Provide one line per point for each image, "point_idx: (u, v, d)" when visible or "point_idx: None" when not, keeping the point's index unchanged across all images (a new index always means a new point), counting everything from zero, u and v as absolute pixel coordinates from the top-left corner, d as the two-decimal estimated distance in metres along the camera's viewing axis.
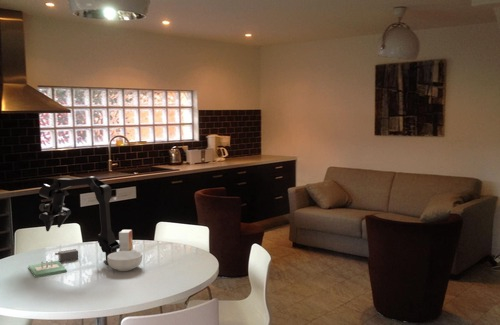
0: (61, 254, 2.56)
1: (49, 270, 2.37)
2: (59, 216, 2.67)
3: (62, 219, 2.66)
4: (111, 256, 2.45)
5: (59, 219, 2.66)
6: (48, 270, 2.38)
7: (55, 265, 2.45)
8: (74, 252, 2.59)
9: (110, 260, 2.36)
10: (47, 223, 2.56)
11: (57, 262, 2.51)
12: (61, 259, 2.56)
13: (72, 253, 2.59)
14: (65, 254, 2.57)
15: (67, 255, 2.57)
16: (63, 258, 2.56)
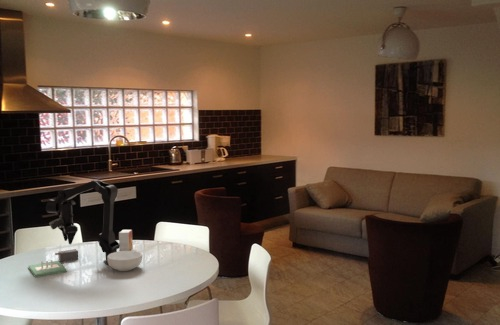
0: (61, 254, 2.56)
1: (49, 270, 2.37)
2: (63, 229, 2.62)
3: None
4: (111, 256, 2.45)
5: (64, 232, 2.62)
6: (48, 270, 2.38)
7: (55, 265, 2.45)
8: (74, 252, 2.59)
9: (110, 260, 2.36)
10: (70, 235, 2.54)
11: (57, 262, 2.51)
12: (61, 259, 2.56)
13: (72, 253, 2.59)
14: (65, 254, 2.57)
15: (67, 255, 2.57)
16: (63, 258, 2.56)
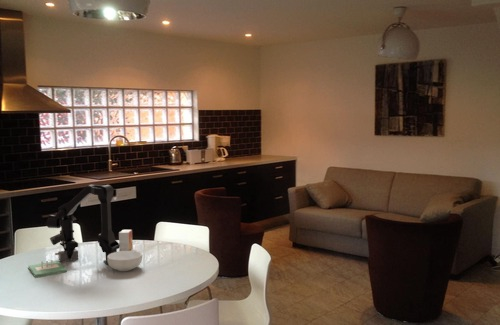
0: (61, 254, 2.56)
1: (49, 270, 2.37)
2: None
3: None
4: (111, 256, 2.45)
5: (66, 248, 2.61)
6: (48, 270, 2.38)
7: (55, 265, 2.45)
8: (74, 252, 2.59)
9: (110, 260, 2.36)
10: (69, 250, 2.56)
11: (57, 262, 2.51)
12: (61, 259, 2.56)
13: None
14: (65, 254, 2.57)
15: (67, 255, 2.57)
16: (63, 258, 2.56)
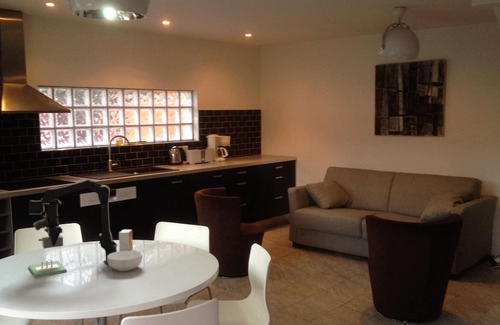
0: (45, 240, 2.43)
1: (49, 270, 2.37)
2: None
3: None
4: (111, 256, 2.45)
5: None
6: (48, 270, 2.38)
7: (55, 265, 2.45)
8: (59, 238, 2.47)
9: (110, 260, 2.36)
10: (54, 236, 2.44)
11: (57, 262, 2.51)
12: (45, 245, 2.43)
13: None
14: (49, 240, 2.44)
15: (51, 241, 2.45)
16: (47, 244, 2.44)
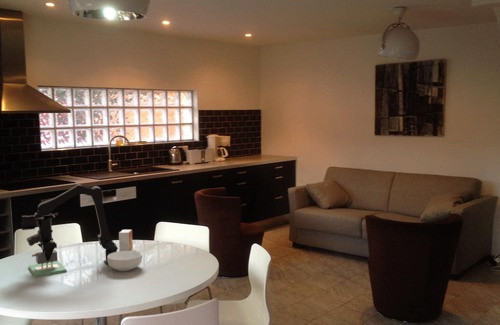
0: (38, 256, 2.38)
1: (49, 270, 2.37)
2: None
3: None
4: (111, 256, 2.45)
5: (44, 249, 2.44)
6: (48, 270, 2.38)
7: (55, 265, 2.45)
8: (53, 253, 2.42)
9: (110, 260, 2.36)
10: (48, 251, 2.39)
11: (57, 262, 2.51)
12: (38, 261, 2.38)
13: None
14: (42, 255, 2.39)
15: (45, 257, 2.40)
16: (41, 260, 2.39)
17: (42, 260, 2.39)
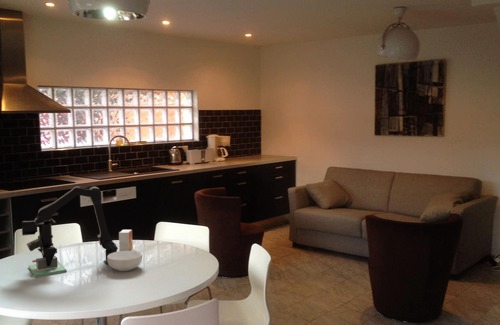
0: (39, 261, 2.38)
1: (49, 270, 2.37)
2: None
3: None
4: (111, 256, 2.45)
5: None
6: (48, 270, 2.38)
7: None
8: (53, 259, 2.42)
9: (110, 260, 2.36)
10: (48, 257, 2.38)
11: None
12: (39, 267, 2.38)
13: None
14: (43, 261, 2.39)
15: (45, 262, 2.40)
16: (41, 266, 2.39)
17: (42, 266, 2.39)
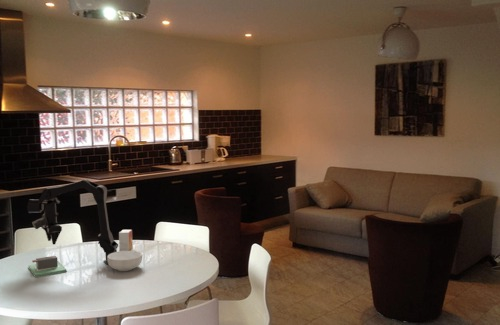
0: (39, 261, 2.38)
1: (49, 270, 2.37)
2: (46, 229, 2.55)
3: None
4: (111, 256, 2.45)
5: (48, 232, 2.55)
6: (48, 270, 2.38)
7: None
8: (53, 259, 2.42)
9: (110, 260, 2.36)
10: (54, 235, 2.47)
11: None
12: (39, 267, 2.38)
13: (51, 260, 2.41)
14: (43, 261, 2.39)
15: (45, 262, 2.40)
16: (41, 266, 2.39)
17: (42, 266, 2.39)
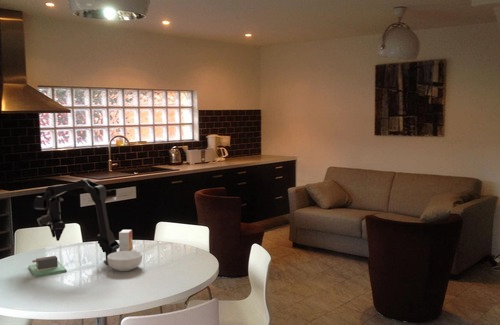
0: (39, 261, 2.38)
1: (49, 270, 2.37)
2: (51, 226, 2.62)
3: None
4: (111, 256, 2.45)
5: None
6: (48, 270, 2.38)
7: None
8: (53, 259, 2.42)
9: (110, 260, 2.36)
10: (58, 232, 2.54)
11: None
12: (39, 267, 2.38)
13: (51, 260, 2.41)
14: (43, 261, 2.39)
15: (45, 262, 2.40)
16: (41, 266, 2.39)
17: (42, 266, 2.39)
